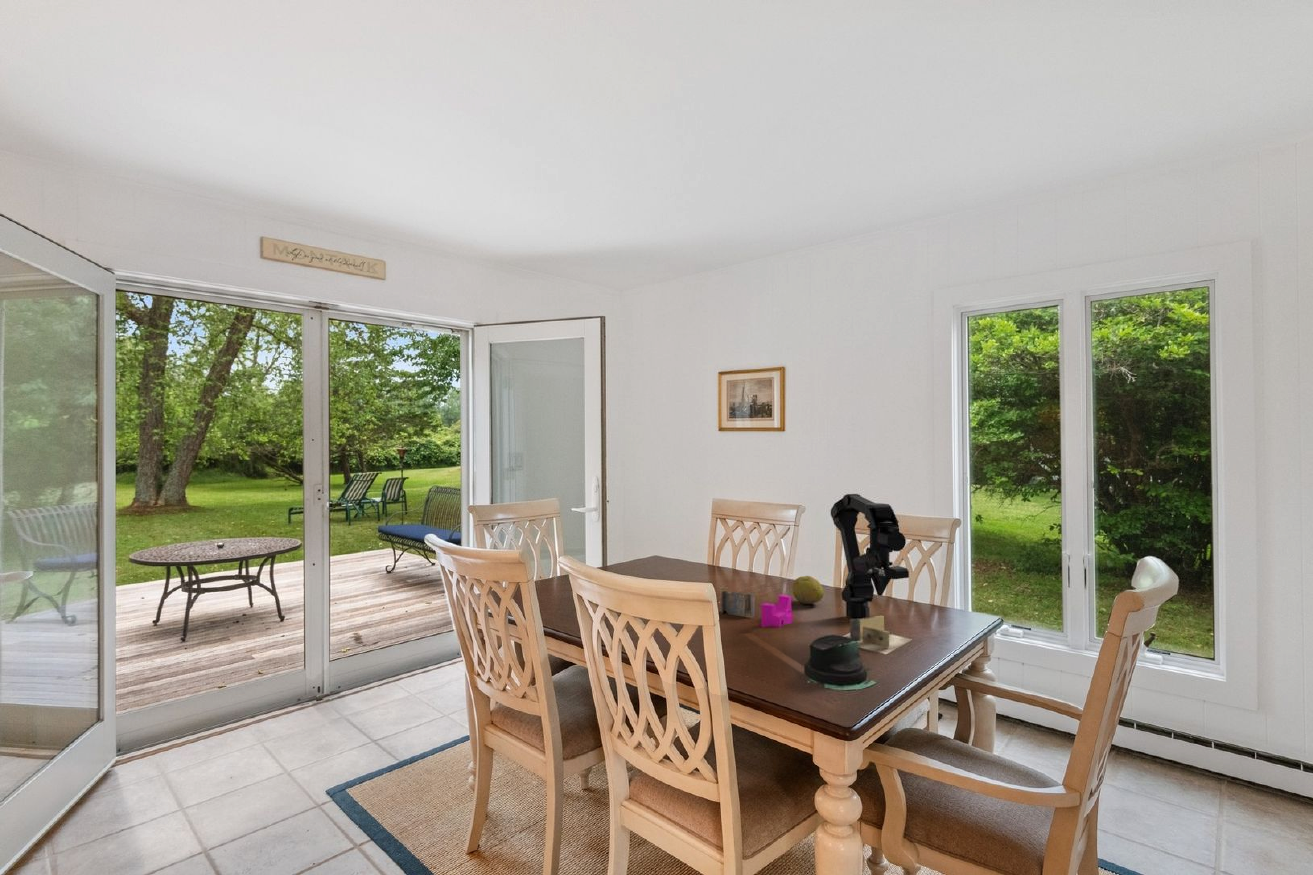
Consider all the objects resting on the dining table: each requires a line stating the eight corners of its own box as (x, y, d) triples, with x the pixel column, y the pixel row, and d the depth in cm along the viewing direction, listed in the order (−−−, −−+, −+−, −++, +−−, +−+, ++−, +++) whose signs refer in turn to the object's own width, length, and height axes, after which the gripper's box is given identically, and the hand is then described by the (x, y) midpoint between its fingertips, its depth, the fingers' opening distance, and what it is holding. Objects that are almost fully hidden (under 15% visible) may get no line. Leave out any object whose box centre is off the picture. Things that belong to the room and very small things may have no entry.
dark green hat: (811, 655, 170) (811, 622, 170) (885, 670, 159) (884, 635, 159) (784, 679, 154) (784, 643, 154) (864, 697, 143) (864, 658, 143)
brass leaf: (860, 637, 180) (860, 619, 180) (857, 635, 181) (857, 618, 181) (884, 633, 183) (883, 616, 183) (881, 632, 184) (881, 615, 184)
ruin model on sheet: (720, 614, 211) (720, 586, 211) (724, 612, 214) (724, 584, 214) (751, 619, 205) (750, 590, 205) (754, 617, 208) (754, 588, 208)
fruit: (793, 607, 217) (792, 579, 217) (791, 599, 228) (791, 572, 228) (825, 608, 215) (824, 580, 215) (821, 600, 227) (821, 573, 227)
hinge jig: (833, 644, 178) (833, 621, 178) (861, 631, 190) (861, 609, 190) (885, 658, 167) (885, 633, 167) (912, 643, 178) (912, 620, 178)
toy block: (779, 631, 192) (779, 607, 192) (761, 627, 195) (761, 604, 195) (798, 619, 204) (798, 597, 204) (781, 616, 208) (780, 594, 208)
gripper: (838, 541, 193) (838, 590, 193) (880, 552, 175) (880, 606, 175) (866, 539, 197) (867, 587, 197) (910, 549, 179) (910, 602, 179)
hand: (879, 595), depth 187 cm, fingers closed
